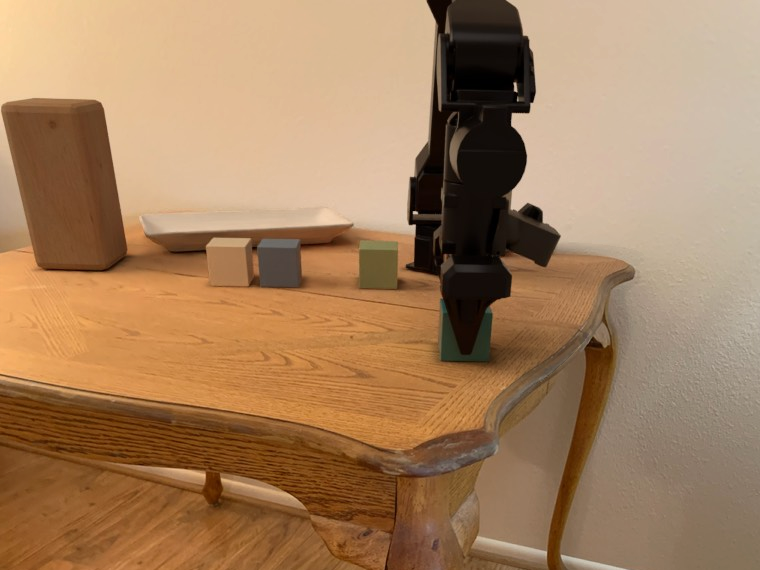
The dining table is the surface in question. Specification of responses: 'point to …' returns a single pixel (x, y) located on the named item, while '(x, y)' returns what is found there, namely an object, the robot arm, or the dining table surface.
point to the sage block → (378, 264)
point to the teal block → (449, 343)
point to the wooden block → (66, 182)
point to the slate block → (279, 262)
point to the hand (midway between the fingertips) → (463, 343)
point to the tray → (243, 226)
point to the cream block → (230, 261)
